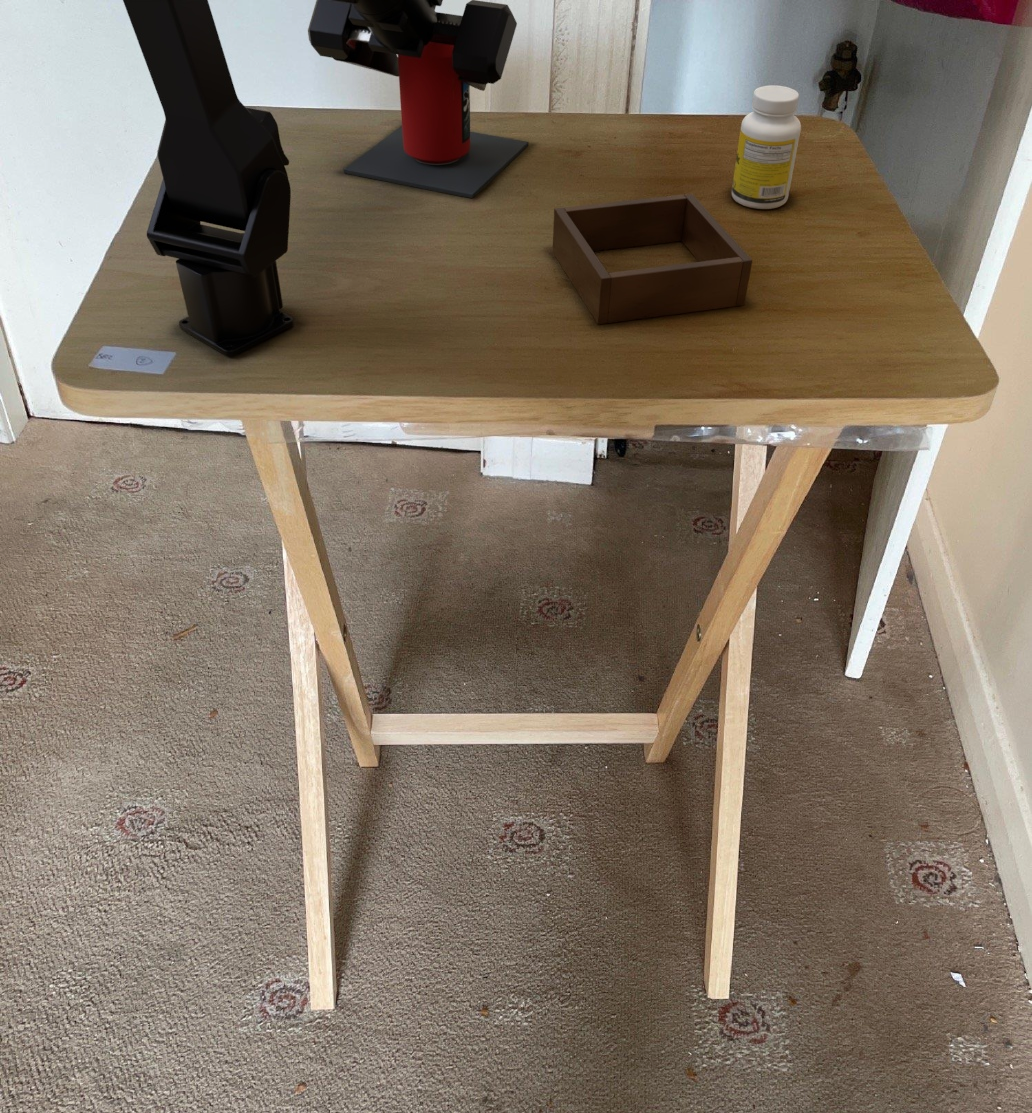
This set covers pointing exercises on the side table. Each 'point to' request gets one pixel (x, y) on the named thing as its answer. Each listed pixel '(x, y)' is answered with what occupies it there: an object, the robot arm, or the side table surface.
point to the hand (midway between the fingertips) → (441, 78)
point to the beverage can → (434, 106)
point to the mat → (449, 178)
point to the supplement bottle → (767, 149)
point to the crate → (654, 288)
